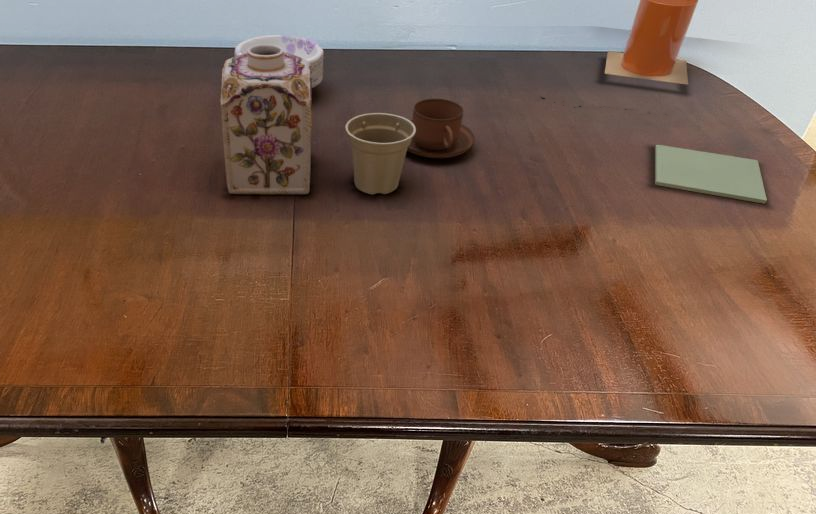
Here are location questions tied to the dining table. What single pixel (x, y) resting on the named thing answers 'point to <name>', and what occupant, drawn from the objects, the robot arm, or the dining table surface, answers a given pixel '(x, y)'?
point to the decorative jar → (267, 121)
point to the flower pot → (378, 150)
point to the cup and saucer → (439, 130)
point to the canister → (657, 36)
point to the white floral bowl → (291, 51)
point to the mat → (709, 173)
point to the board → (616, 69)
